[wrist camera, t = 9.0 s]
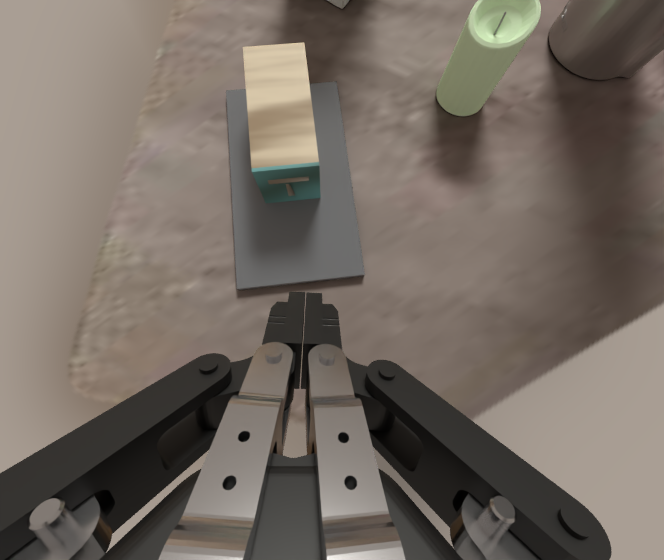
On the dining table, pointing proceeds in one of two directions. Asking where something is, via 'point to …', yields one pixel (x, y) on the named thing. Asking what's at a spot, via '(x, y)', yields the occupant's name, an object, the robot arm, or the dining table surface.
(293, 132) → the block
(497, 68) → the candle
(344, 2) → the supplement box
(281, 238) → the mat
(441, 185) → the dining table surface
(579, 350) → the dining table surface
